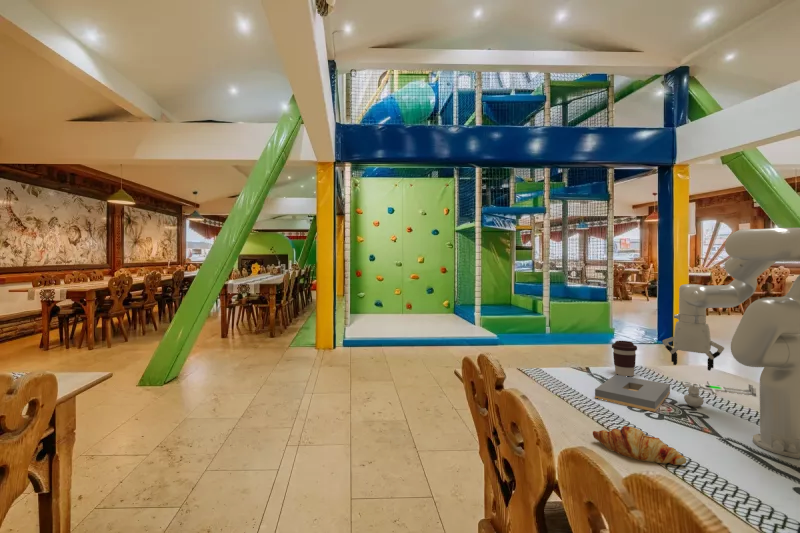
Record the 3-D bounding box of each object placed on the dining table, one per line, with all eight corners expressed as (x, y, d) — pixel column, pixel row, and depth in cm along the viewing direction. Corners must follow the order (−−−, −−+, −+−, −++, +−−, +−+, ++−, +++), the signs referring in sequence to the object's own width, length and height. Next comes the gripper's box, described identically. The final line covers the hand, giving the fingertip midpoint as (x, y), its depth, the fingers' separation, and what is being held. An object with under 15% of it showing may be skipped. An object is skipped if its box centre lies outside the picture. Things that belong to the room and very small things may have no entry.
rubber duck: (684, 407, 131) (684, 384, 131) (683, 401, 136) (683, 379, 136) (704, 410, 128) (704, 386, 128) (702, 404, 133) (702, 381, 133)
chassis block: (655, 411, 126) (655, 401, 126) (595, 398, 140) (594, 389, 140) (669, 393, 145) (669, 384, 145) (615, 382, 158) (615, 374, 158)
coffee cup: (607, 373, 172) (606, 340, 172) (621, 370, 177) (620, 339, 177) (628, 379, 163) (627, 344, 163) (642, 376, 168) (642, 342, 168)
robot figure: (749, 389, 150) (680, 380, 162) (749, 381, 150) (680, 373, 162) (759, 401, 136) (684, 391, 148) (759, 392, 136) (684, 383, 148)
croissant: (686, 476, 94) (688, 443, 97) (685, 473, 87) (686, 437, 90) (594, 449, 108) (597, 420, 110) (586, 444, 101) (590, 414, 104)
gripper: (660, 317, 136) (660, 364, 136) (723, 323, 123) (723, 374, 124) (664, 315, 141) (664, 360, 141) (725, 320, 129) (724, 369, 129)
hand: (691, 366), depth 132 cm, fingers open, 9 cm apart
